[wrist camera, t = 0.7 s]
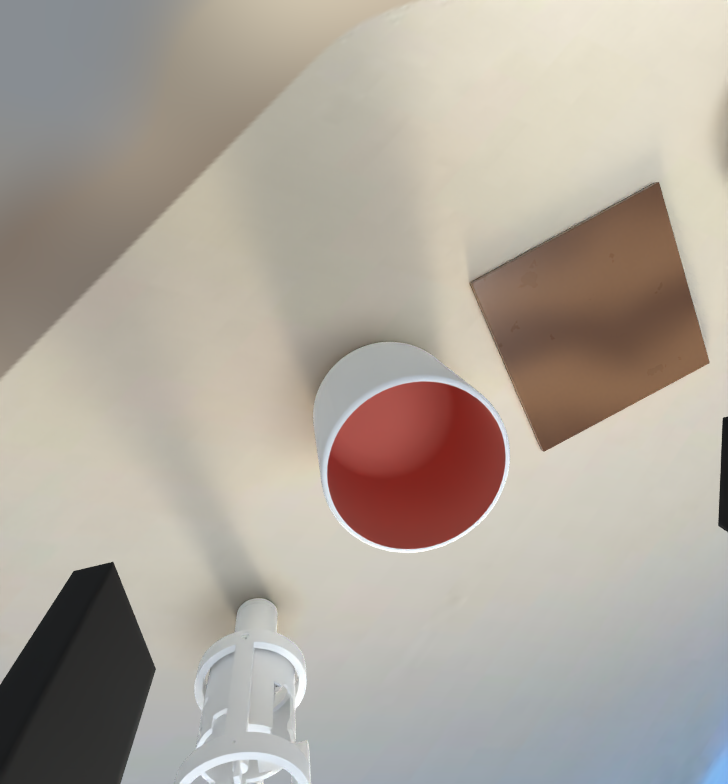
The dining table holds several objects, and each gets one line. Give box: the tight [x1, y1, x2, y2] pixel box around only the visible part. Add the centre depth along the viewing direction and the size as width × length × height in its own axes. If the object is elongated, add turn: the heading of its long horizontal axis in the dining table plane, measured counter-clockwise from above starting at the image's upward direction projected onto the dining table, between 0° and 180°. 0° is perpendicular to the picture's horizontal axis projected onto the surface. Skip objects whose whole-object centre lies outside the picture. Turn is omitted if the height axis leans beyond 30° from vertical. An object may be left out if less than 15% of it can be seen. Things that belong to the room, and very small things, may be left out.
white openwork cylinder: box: [174, 598, 311, 784], centre depth 32 cm, size 7×7×15 cm
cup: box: [313, 342, 510, 553], centre depth 31 cm, size 10×10×10 cm
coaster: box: [470, 182, 709, 452], centre depth 36 cm, size 14×14×1 cm
